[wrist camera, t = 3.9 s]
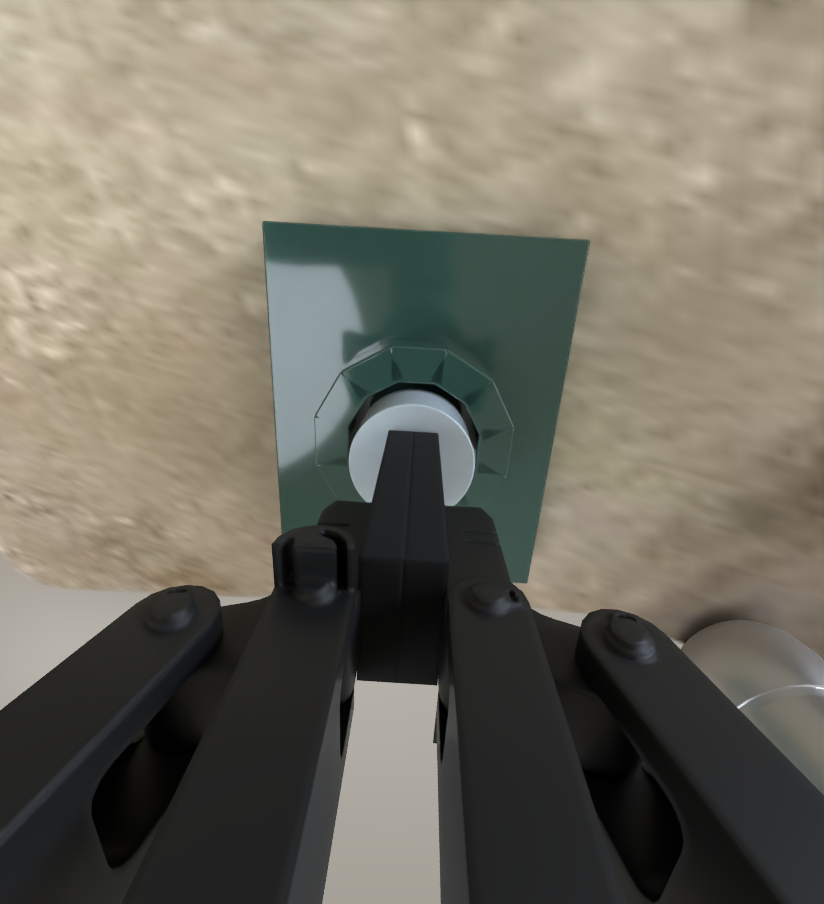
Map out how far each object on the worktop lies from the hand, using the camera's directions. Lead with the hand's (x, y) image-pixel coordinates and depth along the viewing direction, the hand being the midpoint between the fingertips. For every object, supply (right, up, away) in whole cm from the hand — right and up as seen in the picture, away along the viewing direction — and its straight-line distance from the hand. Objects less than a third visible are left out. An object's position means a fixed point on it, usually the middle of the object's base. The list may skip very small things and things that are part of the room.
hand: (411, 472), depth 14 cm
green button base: (0, +2, +5) cm, 6 cm away
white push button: (0, +1, +2) cm, 2 cm away
